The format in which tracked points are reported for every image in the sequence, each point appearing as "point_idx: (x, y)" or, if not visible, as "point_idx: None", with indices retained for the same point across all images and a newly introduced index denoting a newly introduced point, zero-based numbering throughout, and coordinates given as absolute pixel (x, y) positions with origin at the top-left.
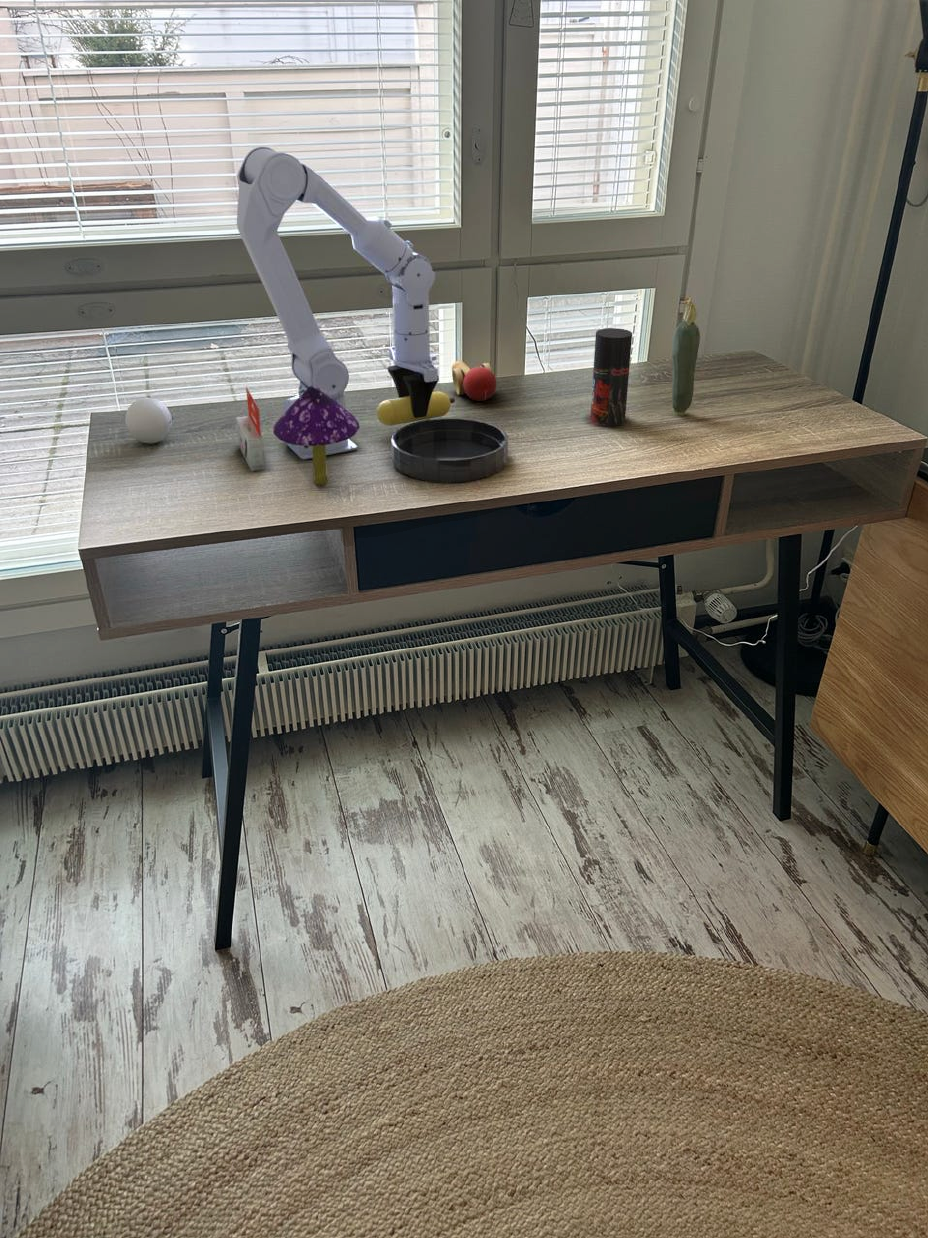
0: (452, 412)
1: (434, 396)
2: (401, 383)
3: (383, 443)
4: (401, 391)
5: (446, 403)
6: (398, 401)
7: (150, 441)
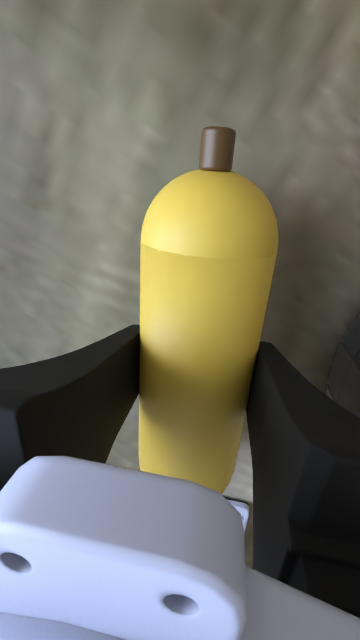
0: (107, 78)
1: (236, 301)
2: (99, 456)
3: (247, 442)
4: (118, 426)
5: (277, 230)
6: (203, 470)
7: None
